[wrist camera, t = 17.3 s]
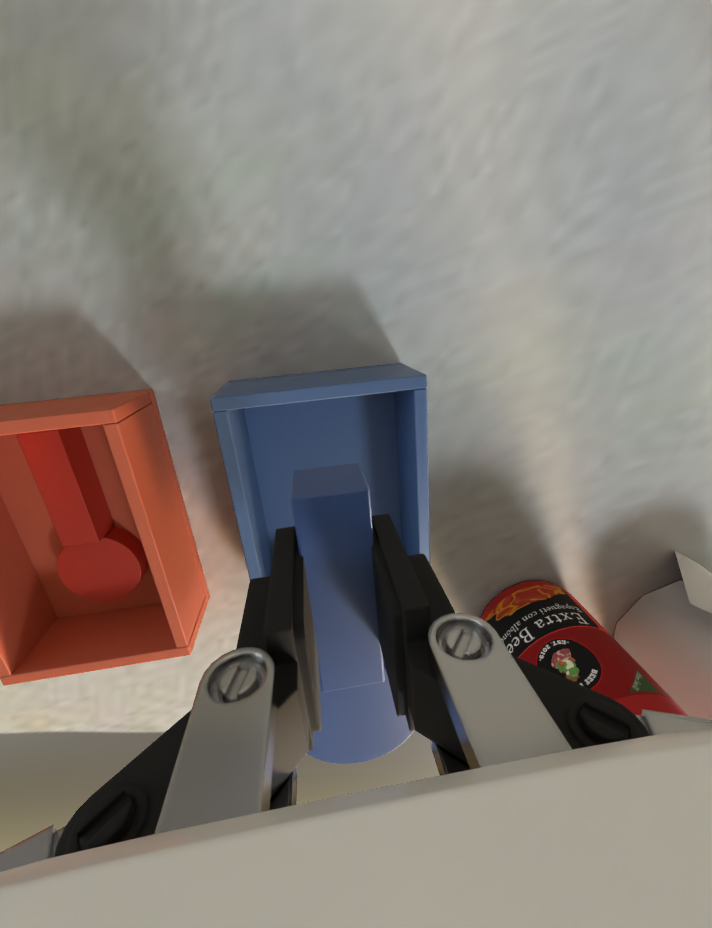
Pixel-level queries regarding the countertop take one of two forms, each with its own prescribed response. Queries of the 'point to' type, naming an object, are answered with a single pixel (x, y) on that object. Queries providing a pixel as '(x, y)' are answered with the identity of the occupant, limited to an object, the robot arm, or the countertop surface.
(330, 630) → the blue spoon
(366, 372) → the blue bin
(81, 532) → the red spoon
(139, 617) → the terracotta bin
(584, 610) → the canned food
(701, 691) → the toilet tissue
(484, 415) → the countertop surface
